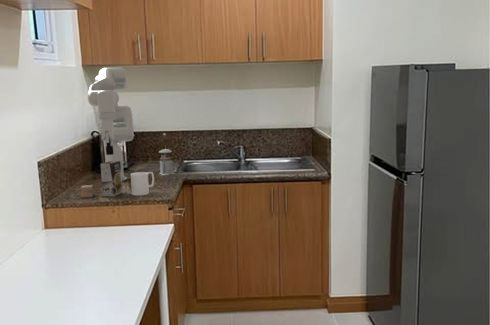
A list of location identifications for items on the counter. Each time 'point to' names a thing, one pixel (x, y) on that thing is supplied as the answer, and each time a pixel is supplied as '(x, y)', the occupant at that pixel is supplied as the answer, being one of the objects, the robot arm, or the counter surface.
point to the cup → (140, 183)
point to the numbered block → (87, 191)
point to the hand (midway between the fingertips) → (109, 154)
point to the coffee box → (111, 178)
